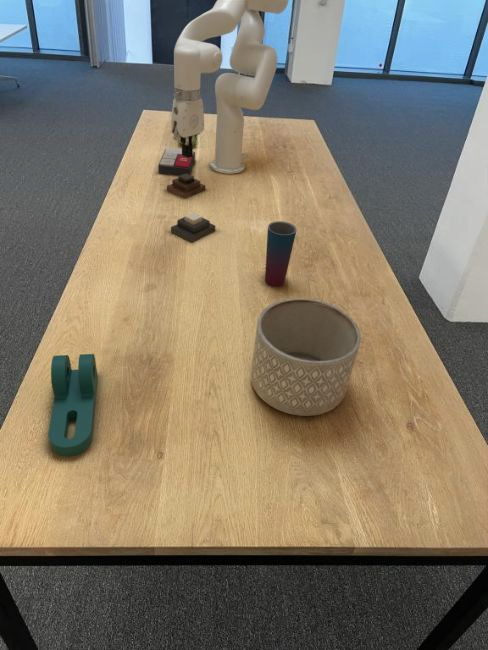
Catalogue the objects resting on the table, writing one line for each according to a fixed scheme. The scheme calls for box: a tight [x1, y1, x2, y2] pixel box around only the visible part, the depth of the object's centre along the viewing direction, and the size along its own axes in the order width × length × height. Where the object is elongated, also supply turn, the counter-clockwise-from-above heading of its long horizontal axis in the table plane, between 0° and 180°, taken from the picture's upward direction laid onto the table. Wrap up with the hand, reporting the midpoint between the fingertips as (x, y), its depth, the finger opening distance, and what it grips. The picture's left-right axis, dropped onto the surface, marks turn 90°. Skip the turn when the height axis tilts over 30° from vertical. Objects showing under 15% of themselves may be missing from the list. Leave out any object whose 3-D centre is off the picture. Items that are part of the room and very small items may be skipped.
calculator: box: [157, 148, 196, 177], centre depth 180 cm, size 11×4×15 cm
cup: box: [264, 220, 298, 287], centre depth 123 cm, size 7×7×15 cm
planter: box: [250, 297, 362, 417], centre depth 94 cm, size 19×19×14 cm
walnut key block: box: [166, 177, 206, 199], centre depth 165 cm, size 10×8×4 cm
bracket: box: [47, 353, 99, 457], centre depth 86 cm, size 18×7×8 cm, turn 9°
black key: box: [178, 174, 195, 184], centre depth 164 cm, size 4×4×2 cm
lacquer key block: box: [170, 216, 216, 243], centre depth 143 cm, size 10×8×4 cm
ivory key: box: [184, 211, 204, 225], centre depth 142 cm, size 4×4×2 cm
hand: (187, 155), depth 158 cm, fingers closed
